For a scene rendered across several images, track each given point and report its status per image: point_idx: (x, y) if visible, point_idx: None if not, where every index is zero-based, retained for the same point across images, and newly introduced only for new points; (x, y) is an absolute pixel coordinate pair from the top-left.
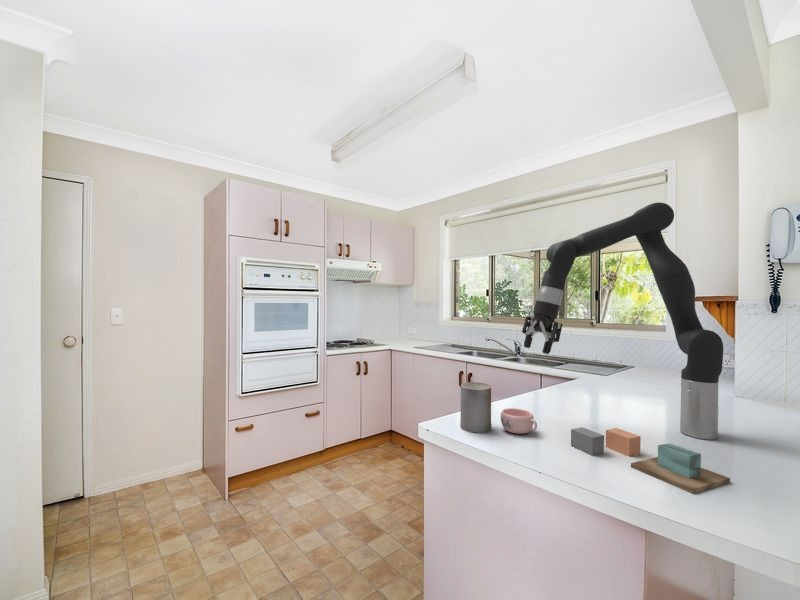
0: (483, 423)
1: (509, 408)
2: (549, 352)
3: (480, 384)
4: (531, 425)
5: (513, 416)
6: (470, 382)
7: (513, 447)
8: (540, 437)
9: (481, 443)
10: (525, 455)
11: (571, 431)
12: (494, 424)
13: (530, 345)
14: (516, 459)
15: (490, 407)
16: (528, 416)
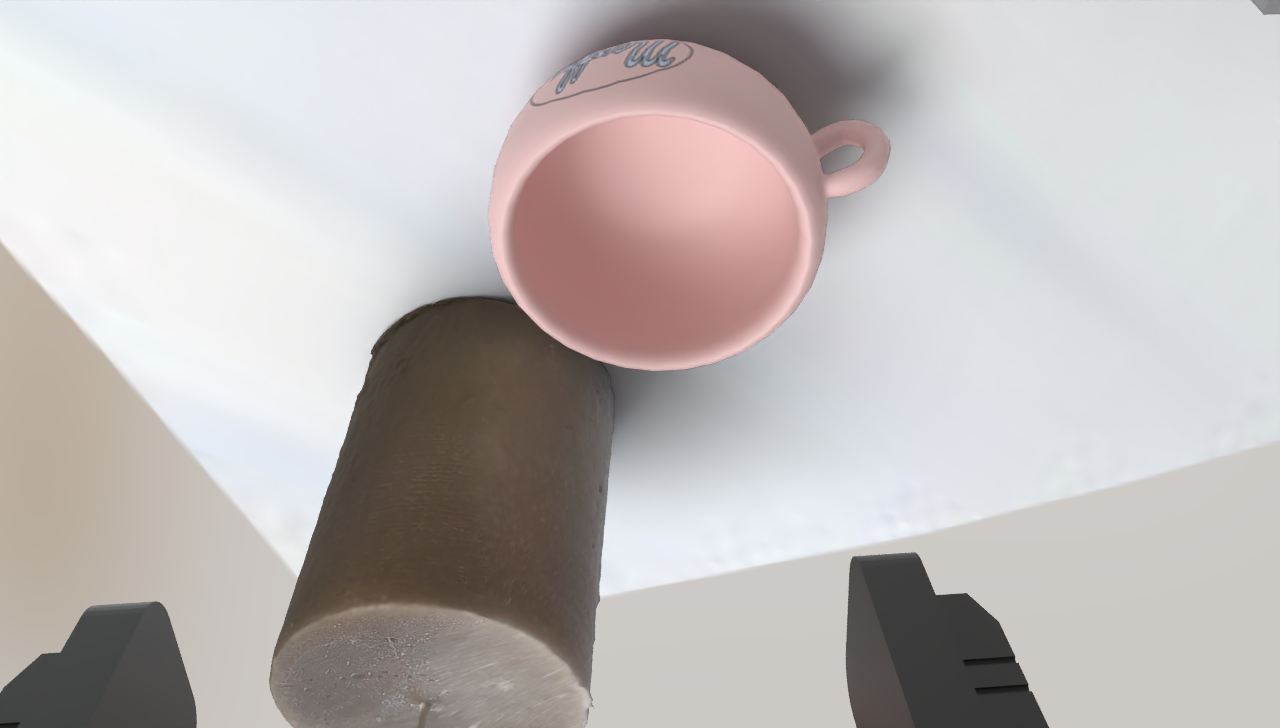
0: (610, 455)
1: (502, 236)
2: (966, 599)
3: (408, 668)
4: (814, 145)
5: (748, 346)
6: (287, 690)
7: (950, 377)
8: (887, 53)
9: (793, 502)
10: (1098, 389)
11: (1260, 3)
12: (442, 222)
13: (132, 652)
14: (1109, 465)
15: (566, 480)
16: (814, 231)
